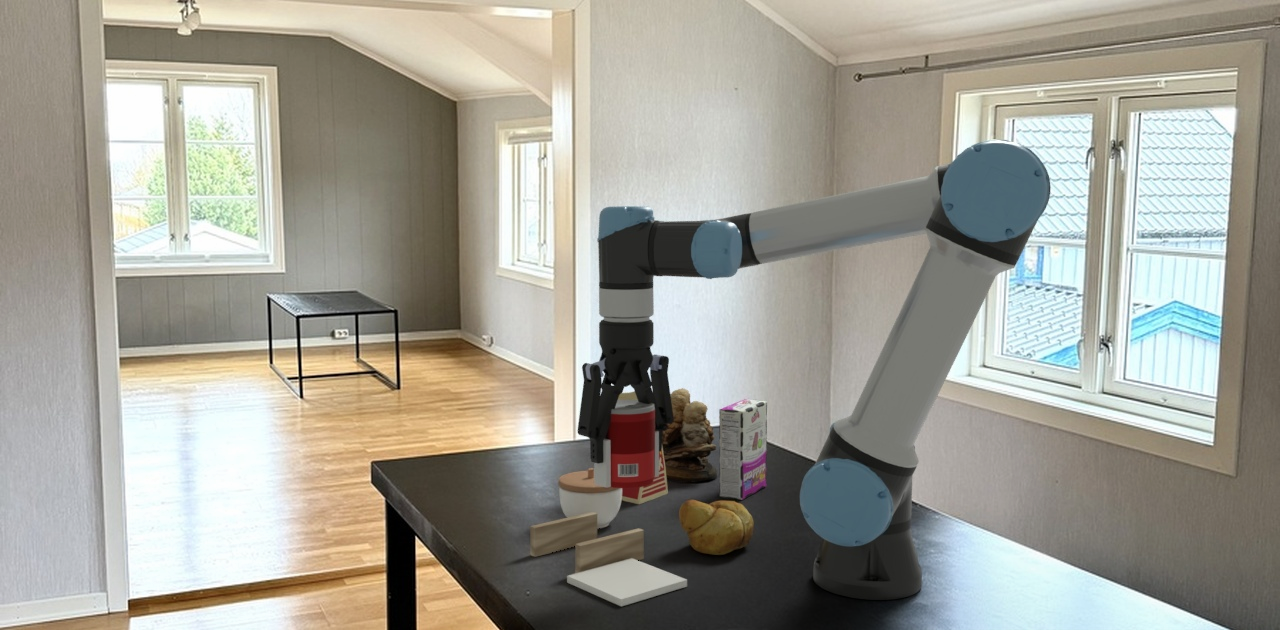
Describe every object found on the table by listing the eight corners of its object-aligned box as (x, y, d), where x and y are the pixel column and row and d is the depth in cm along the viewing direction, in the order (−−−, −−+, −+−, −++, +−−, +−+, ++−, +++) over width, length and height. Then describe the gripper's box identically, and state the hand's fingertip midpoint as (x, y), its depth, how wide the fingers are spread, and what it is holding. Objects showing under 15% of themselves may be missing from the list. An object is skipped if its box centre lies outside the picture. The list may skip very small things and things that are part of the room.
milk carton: (668, 493, 208) (669, 385, 206) (641, 505, 200) (642, 393, 198) (626, 486, 213) (627, 380, 210) (598, 497, 205) (599, 387, 203)
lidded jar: (615, 535, 182) (615, 478, 181) (550, 531, 184) (550, 474, 183) (628, 517, 193) (629, 463, 192) (567, 513, 195) (568, 459, 194)
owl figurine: (735, 479, 218) (737, 392, 216) (685, 488, 212) (686, 399, 210) (681, 460, 233) (682, 378, 231) (633, 468, 227) (633, 383, 225)
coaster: (687, 586, 159) (687, 579, 159) (621, 606, 151) (621, 599, 151) (631, 564, 168) (631, 558, 168) (567, 582, 160) (567, 575, 160)
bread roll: (724, 531, 185) (725, 483, 184) (772, 544, 179) (773, 495, 178) (672, 549, 176) (672, 499, 175) (721, 563, 169) (721, 511, 168)
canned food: (666, 481, 159) (666, 404, 158) (626, 492, 153) (625, 412, 152) (627, 472, 164) (627, 397, 163) (587, 482, 159) (586, 404, 158)
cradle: (643, 559, 171) (643, 530, 170) (580, 576, 163) (580, 546, 163) (592, 539, 180) (592, 511, 180) (530, 554, 172) (530, 526, 172)
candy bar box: (742, 483, 215) (744, 398, 213) (767, 487, 213) (768, 400, 211) (716, 497, 205) (718, 407, 204) (742, 501, 203) (743, 410, 201)
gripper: (665, 311, 166) (665, 463, 168) (548, 321, 153) (550, 487, 155) (700, 315, 160) (700, 473, 163) (582, 326, 147) (583, 498, 149)
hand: (627, 479), depth 159 cm, fingers closed on canned food, 8 cm apart
